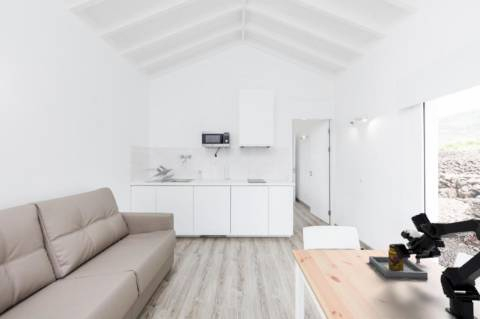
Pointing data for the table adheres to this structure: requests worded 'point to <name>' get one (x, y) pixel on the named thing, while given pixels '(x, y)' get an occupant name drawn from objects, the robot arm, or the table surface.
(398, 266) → the condiment
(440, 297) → the table surface
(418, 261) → the mechanical component
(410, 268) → the tray
